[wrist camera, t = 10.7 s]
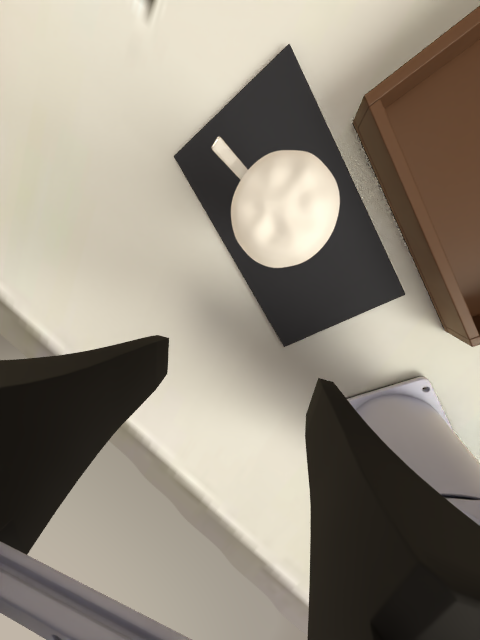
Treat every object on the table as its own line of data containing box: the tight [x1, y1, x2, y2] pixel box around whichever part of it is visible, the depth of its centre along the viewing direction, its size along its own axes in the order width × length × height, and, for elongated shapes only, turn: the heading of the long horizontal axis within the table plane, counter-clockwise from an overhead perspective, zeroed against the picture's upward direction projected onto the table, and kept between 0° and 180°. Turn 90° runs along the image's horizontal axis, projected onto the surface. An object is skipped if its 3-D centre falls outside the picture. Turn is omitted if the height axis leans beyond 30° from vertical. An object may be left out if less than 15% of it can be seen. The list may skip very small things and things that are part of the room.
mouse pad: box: [174, 44, 405, 347], centre depth 17 cm, size 18×10×1 cm, turn 32°
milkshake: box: [211, 136, 340, 268], centre depth 12 cm, size 4×5×10 cm
